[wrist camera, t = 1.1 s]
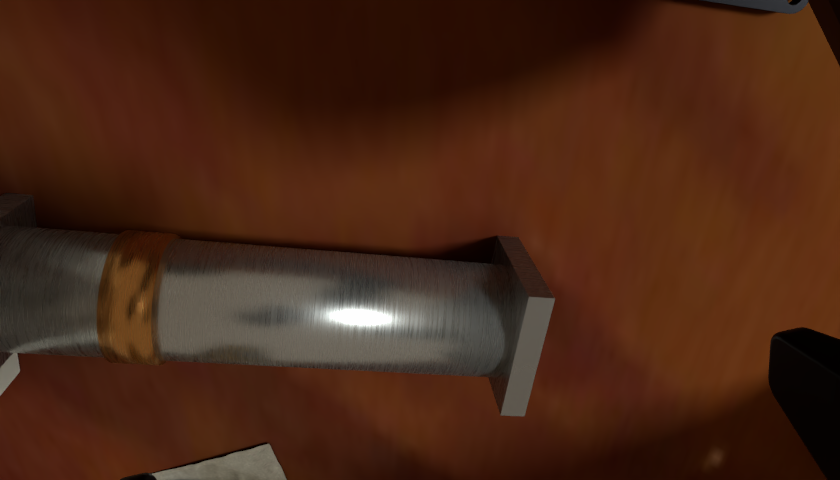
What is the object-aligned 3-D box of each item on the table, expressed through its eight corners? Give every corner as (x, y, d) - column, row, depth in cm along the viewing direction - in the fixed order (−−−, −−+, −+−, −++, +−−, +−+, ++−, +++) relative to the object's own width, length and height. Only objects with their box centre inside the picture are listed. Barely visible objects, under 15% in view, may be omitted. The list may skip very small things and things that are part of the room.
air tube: (518, 237, 22) (555, 298, 18) (495, 339, 24) (524, 416, 20) (6, 192, 19) (-84, 252, 15) (24, 310, 21) (-53, 391, 17)
